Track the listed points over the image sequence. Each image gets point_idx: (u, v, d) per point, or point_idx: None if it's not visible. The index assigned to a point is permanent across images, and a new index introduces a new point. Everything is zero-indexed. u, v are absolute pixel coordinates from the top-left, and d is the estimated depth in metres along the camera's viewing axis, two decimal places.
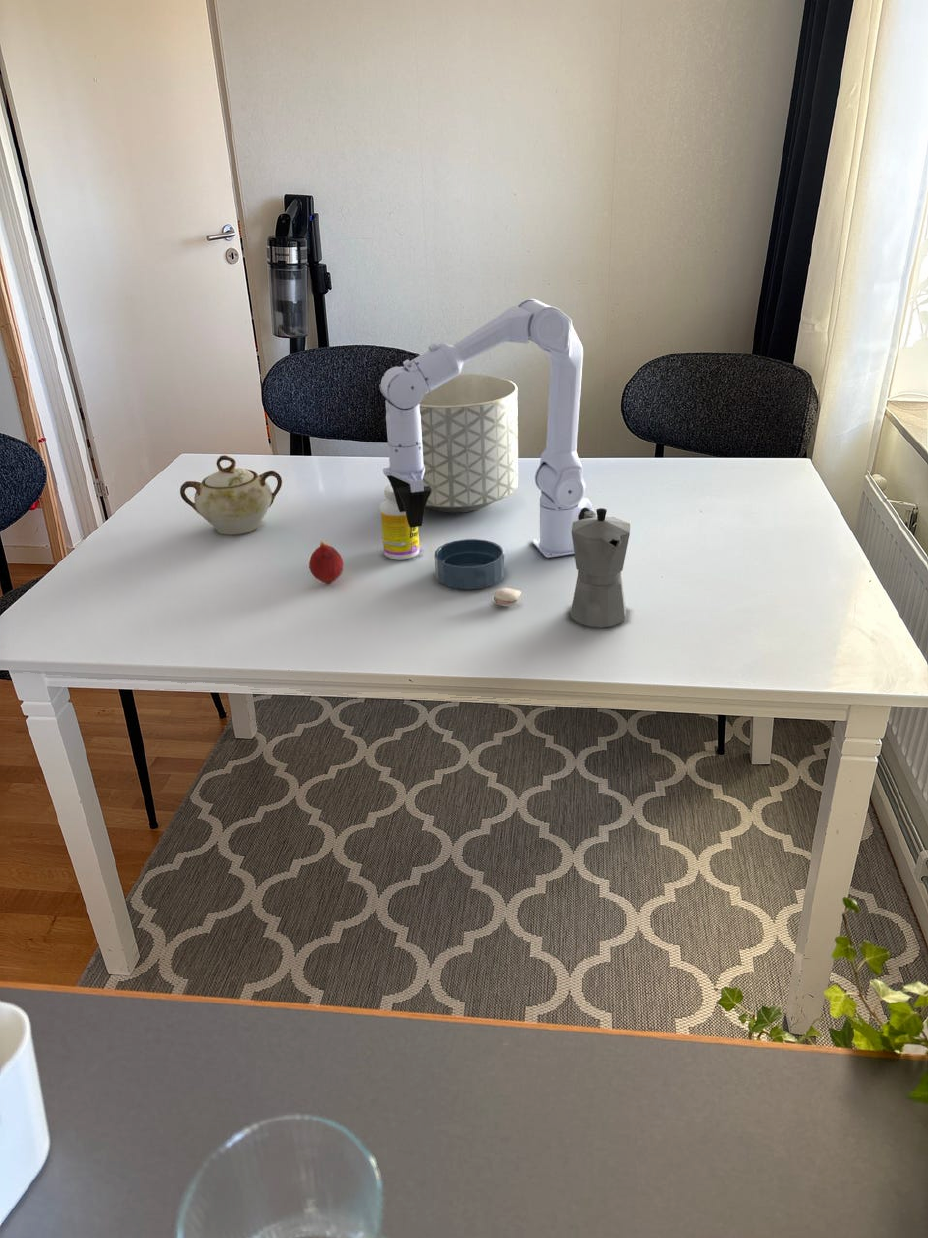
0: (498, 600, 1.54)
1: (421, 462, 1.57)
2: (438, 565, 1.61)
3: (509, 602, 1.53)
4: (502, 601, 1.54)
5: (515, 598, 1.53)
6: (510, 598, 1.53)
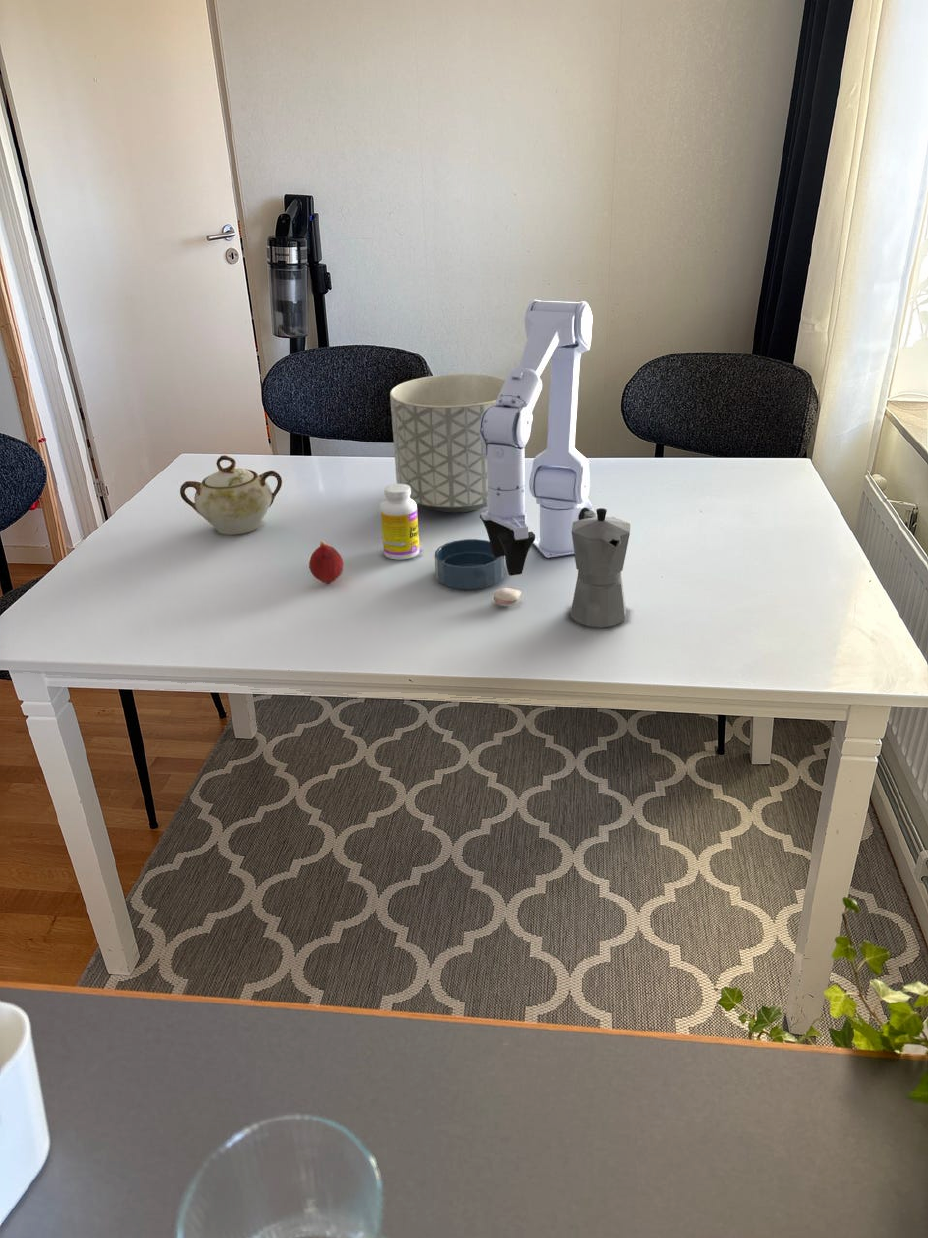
0: (498, 600, 1.54)
1: (523, 506, 1.46)
2: (438, 565, 1.61)
3: (509, 602, 1.53)
4: (502, 601, 1.54)
5: (515, 598, 1.53)
6: (510, 598, 1.53)
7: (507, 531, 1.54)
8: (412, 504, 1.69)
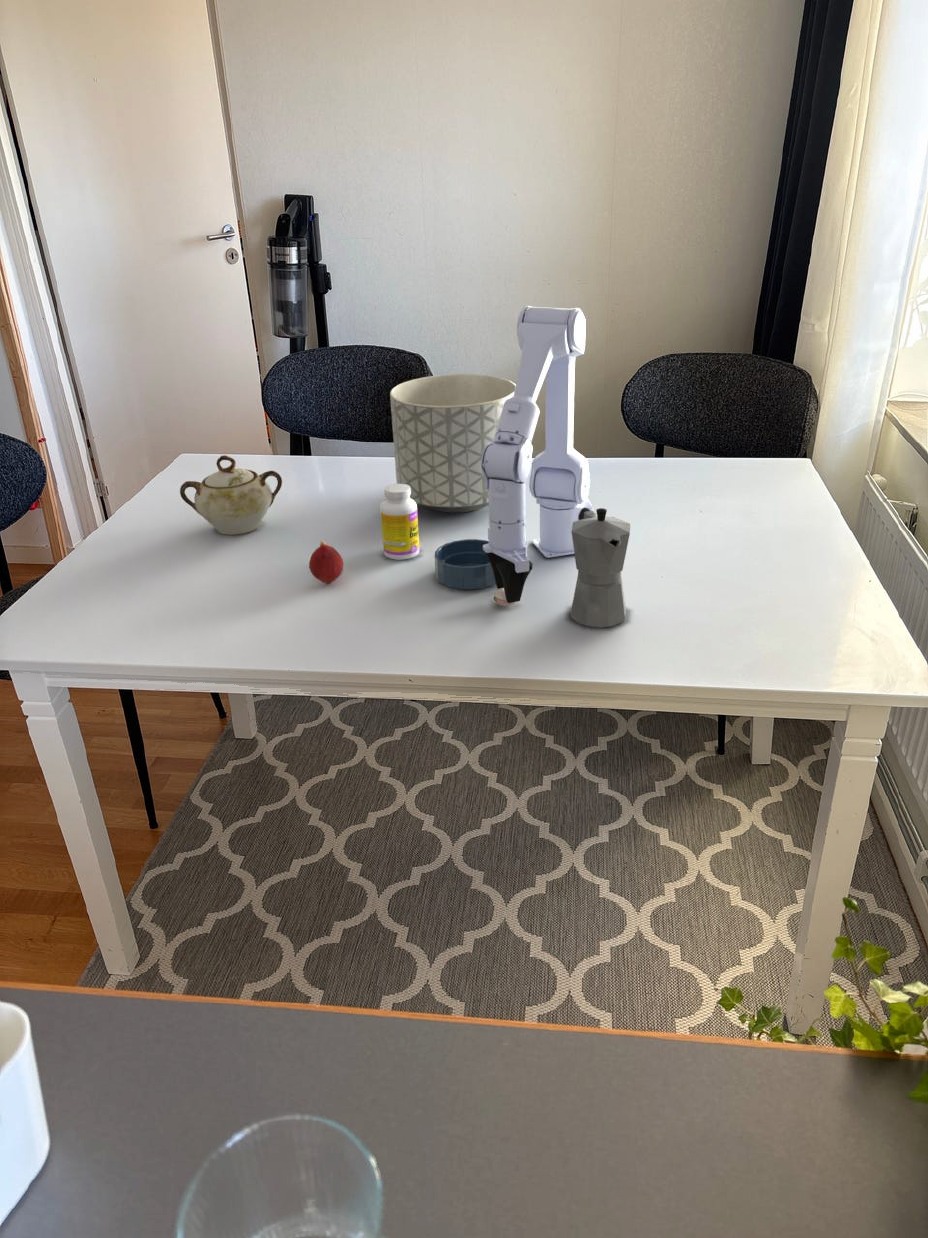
0: (498, 599, 1.54)
1: (524, 539, 1.49)
2: (438, 565, 1.61)
3: None
4: (502, 600, 1.54)
5: None
6: None
7: None
8: (412, 504, 1.69)
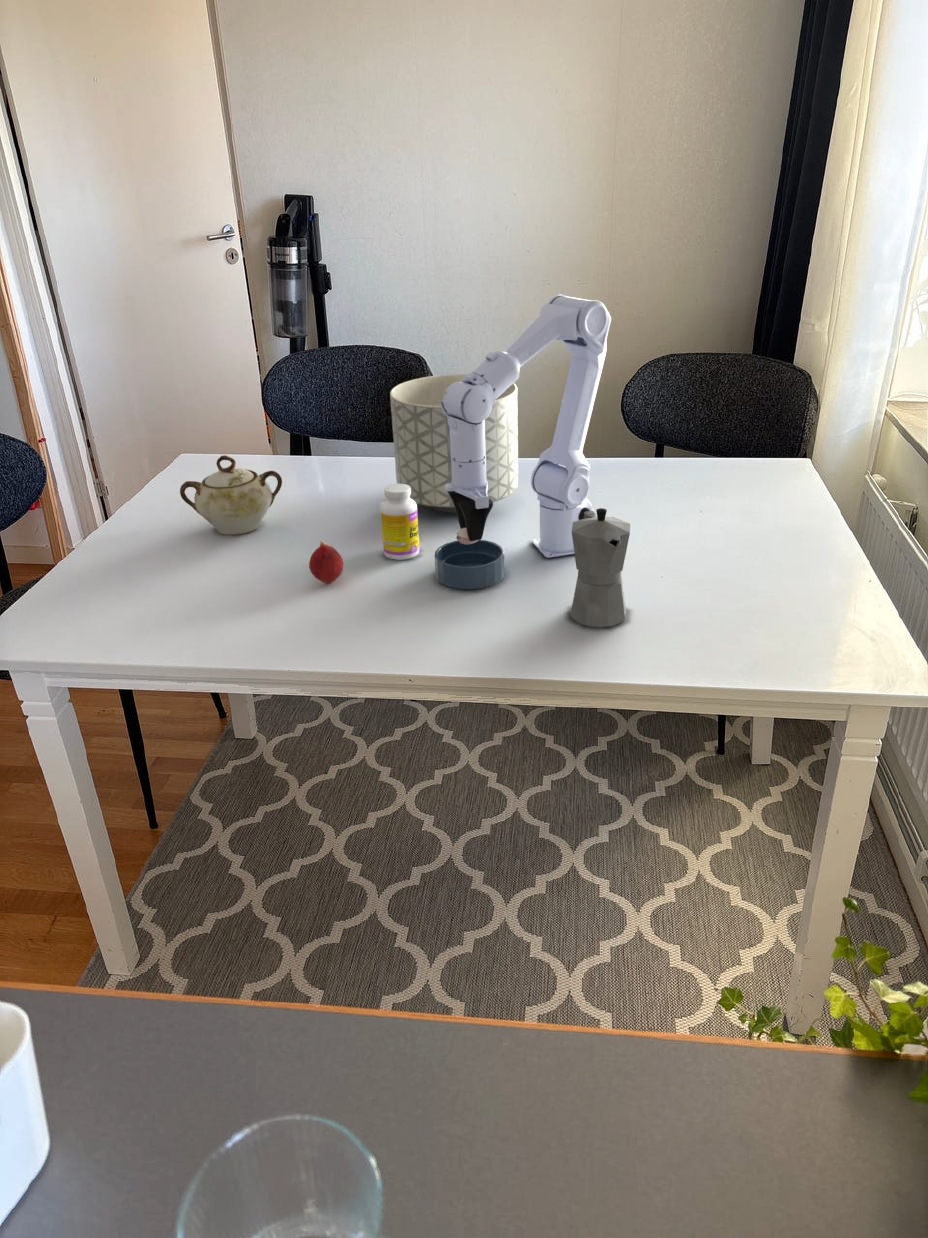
0: (460, 538, 1.60)
1: (484, 478, 1.54)
2: (438, 565, 1.61)
3: None
4: (464, 539, 1.59)
5: None
6: None
7: None
8: (412, 504, 1.69)
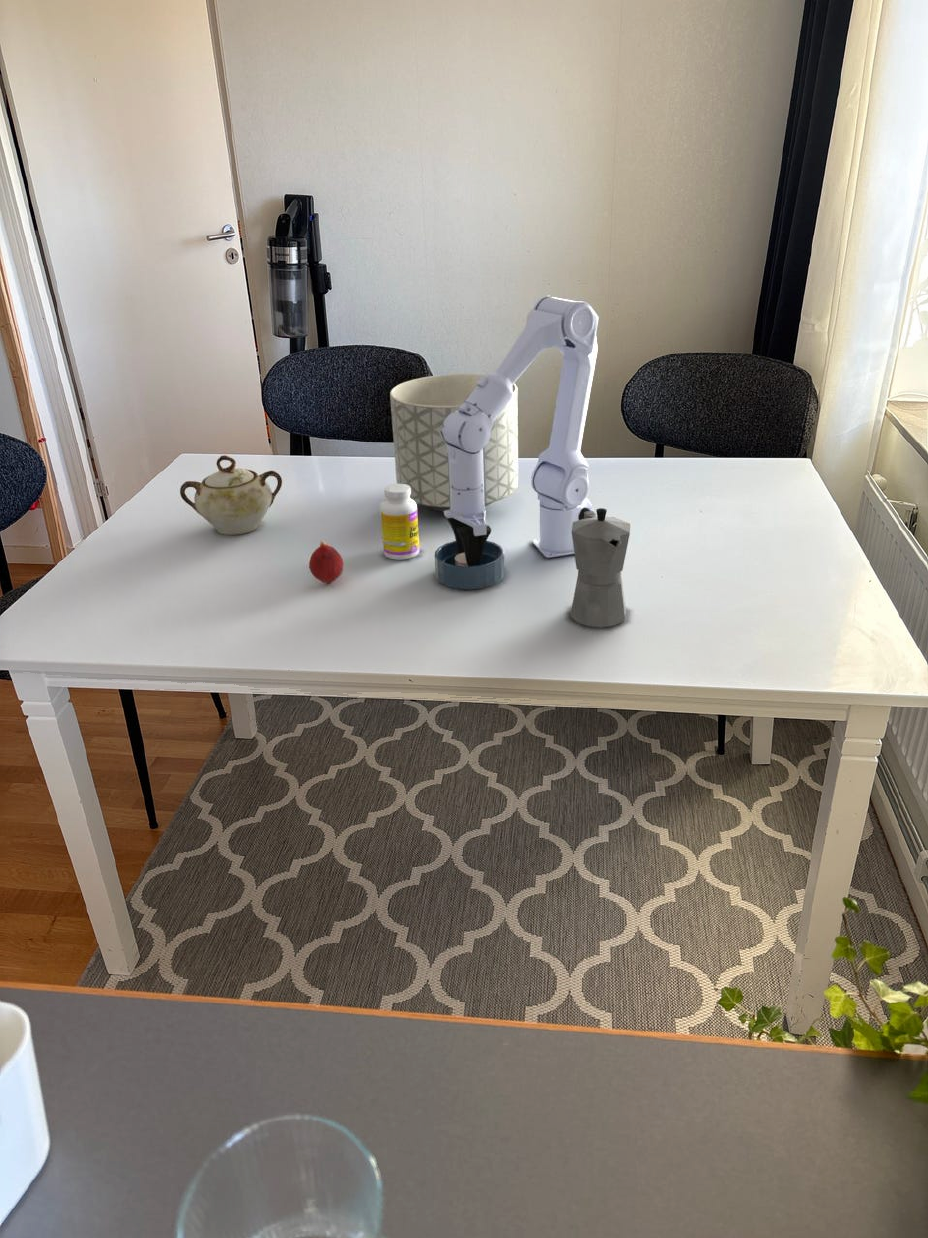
0: (459, 563, 1.63)
1: (483, 505, 1.57)
2: (438, 565, 1.61)
3: None
4: (463, 564, 1.62)
5: None
6: None
7: None
8: (412, 504, 1.69)
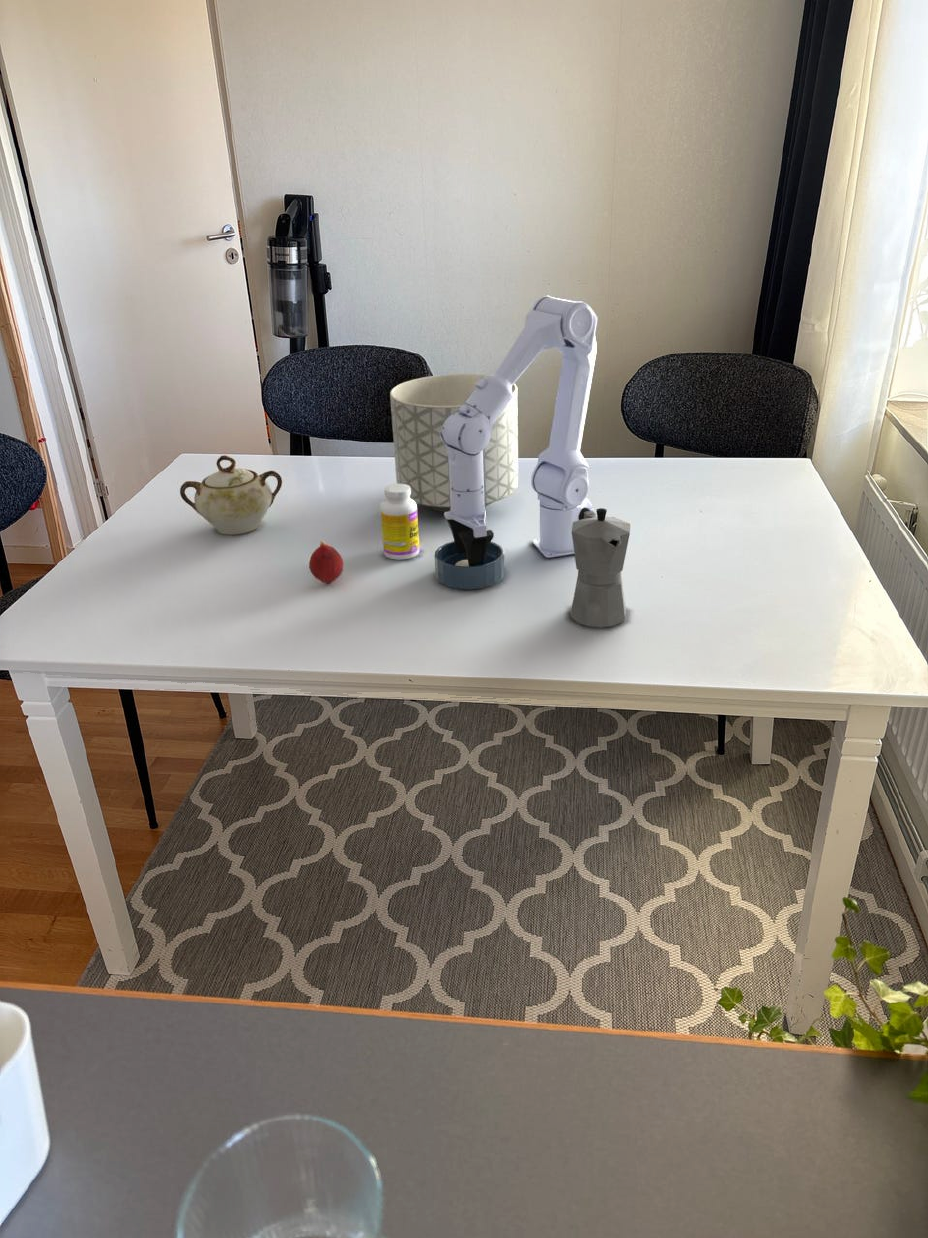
0: None
1: (483, 506, 1.58)
2: (438, 565, 1.61)
3: None
4: None
5: None
6: None
7: (470, 529, 1.65)
8: (412, 504, 1.69)
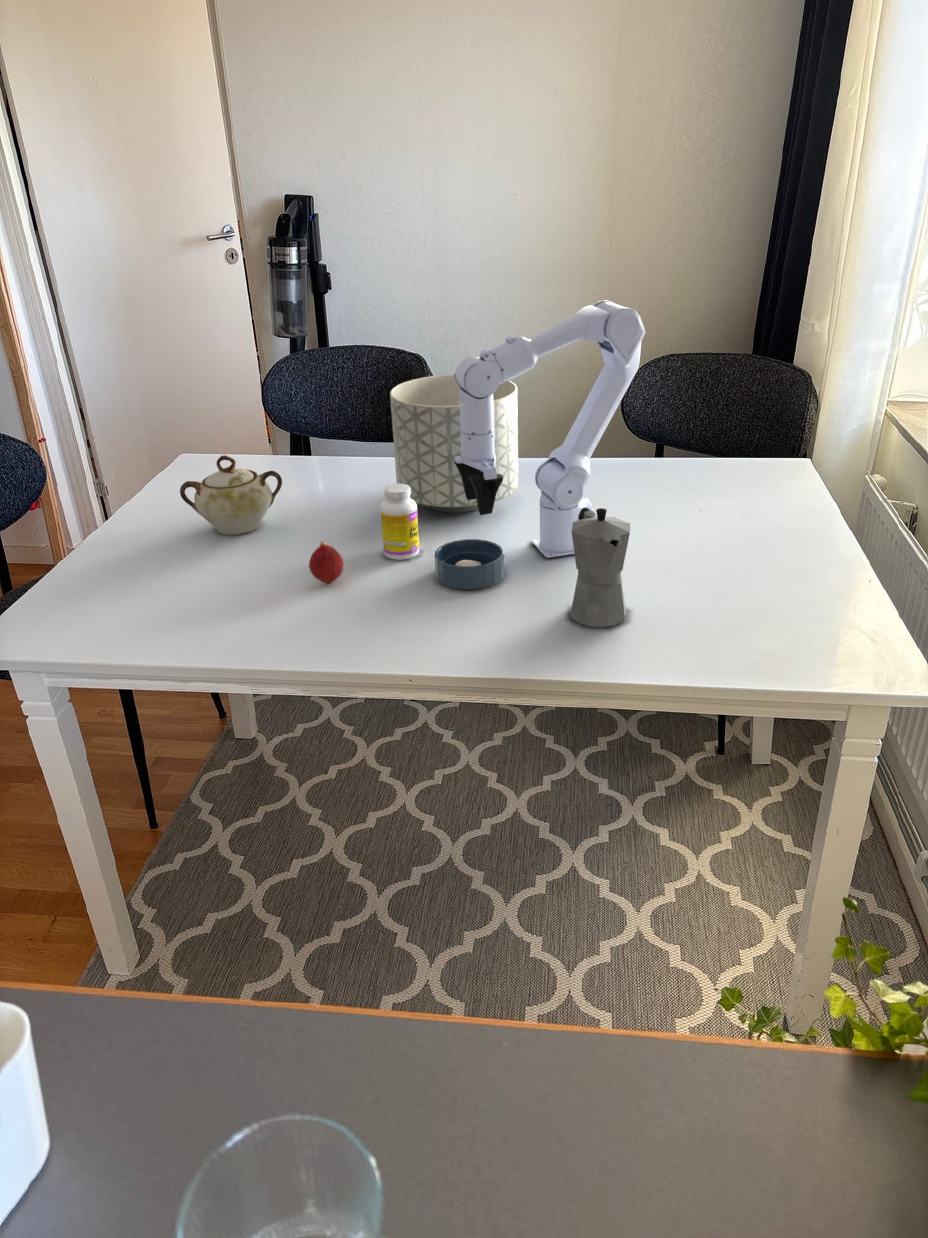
0: None
1: (493, 450, 1.60)
2: (438, 565, 1.61)
3: None
4: None
5: None
6: None
7: None
8: (412, 504, 1.69)
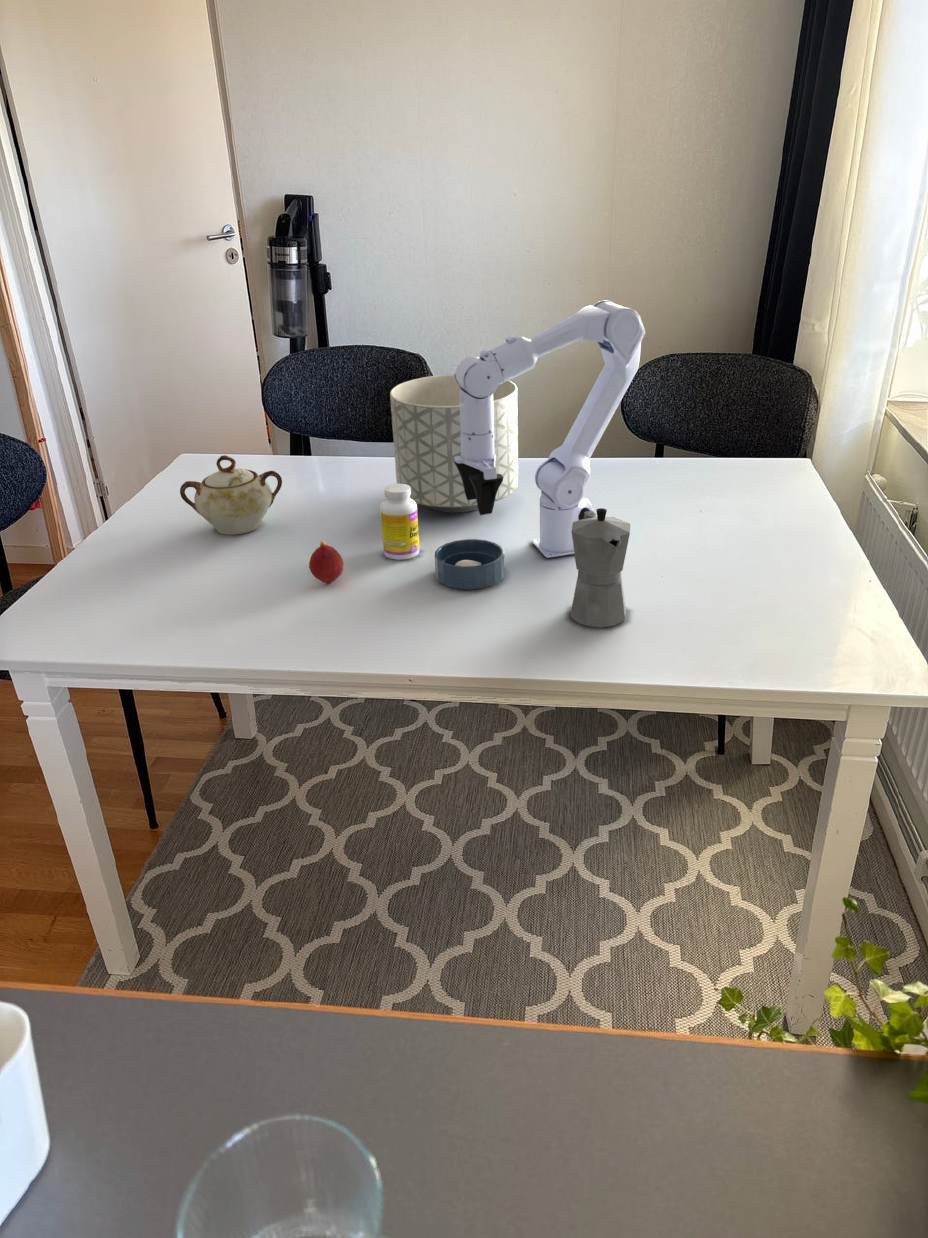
0: None
1: (493, 450, 1.60)
2: (438, 565, 1.61)
3: None
4: None
5: None
6: None
7: None
8: (412, 504, 1.69)
